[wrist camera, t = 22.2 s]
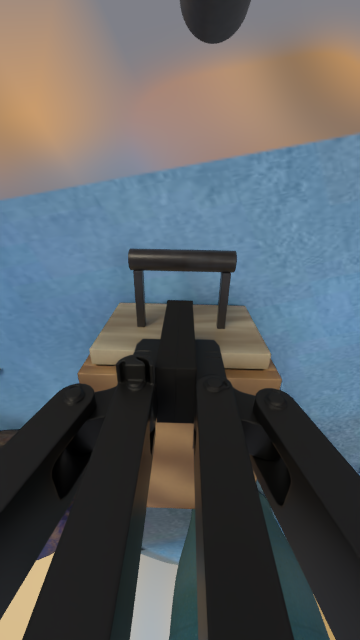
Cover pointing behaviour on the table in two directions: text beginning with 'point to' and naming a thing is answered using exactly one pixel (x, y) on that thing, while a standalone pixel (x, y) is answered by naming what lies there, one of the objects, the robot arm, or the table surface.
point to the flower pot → (294, 585)
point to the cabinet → (177, 435)
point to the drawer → (209, 320)
